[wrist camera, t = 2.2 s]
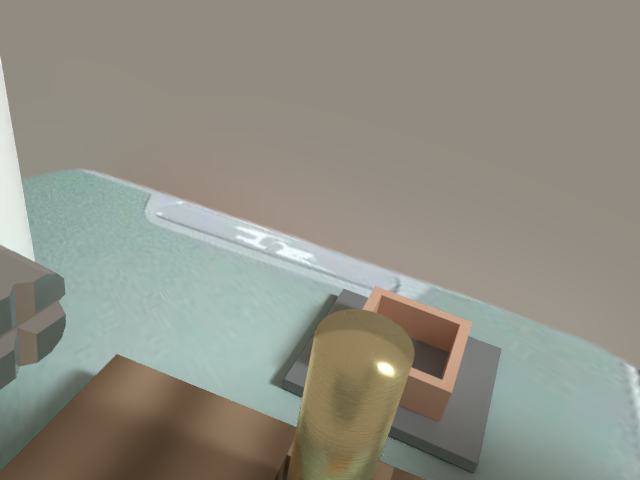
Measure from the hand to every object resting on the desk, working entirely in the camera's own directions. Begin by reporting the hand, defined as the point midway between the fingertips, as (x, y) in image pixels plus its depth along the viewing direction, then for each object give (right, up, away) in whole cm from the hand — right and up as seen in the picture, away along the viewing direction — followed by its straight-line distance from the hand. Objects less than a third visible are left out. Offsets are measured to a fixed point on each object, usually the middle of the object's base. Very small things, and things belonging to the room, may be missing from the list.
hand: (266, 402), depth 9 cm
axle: (0, -15, +22) cm, 26 cm away
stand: (+7, -8, +34) cm, 36 cm away
